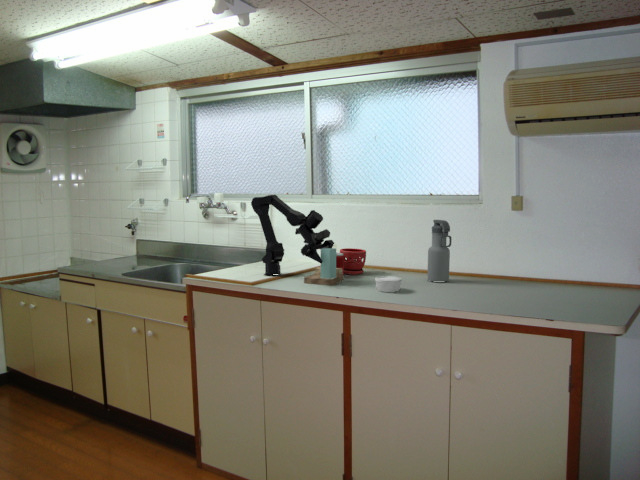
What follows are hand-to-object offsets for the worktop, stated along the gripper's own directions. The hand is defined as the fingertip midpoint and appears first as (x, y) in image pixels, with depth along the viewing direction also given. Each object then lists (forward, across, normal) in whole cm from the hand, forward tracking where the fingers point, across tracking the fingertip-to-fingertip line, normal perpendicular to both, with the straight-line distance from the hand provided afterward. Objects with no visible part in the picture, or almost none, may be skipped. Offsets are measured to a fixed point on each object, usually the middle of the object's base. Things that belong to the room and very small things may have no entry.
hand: (328, 261), depth 240 cm
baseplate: (+5, +2, +9) cm, 10 cm away
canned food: (+2, +16, +12) cm, 20 cm away
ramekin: (+28, +3, -14) cm, 31 cm away
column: (+5, 0, +5) cm, 7 cm away
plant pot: (+4, +28, +11) cm, 30 cm away
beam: (+2, +6, +8) cm, 11 cm away
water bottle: (+33, +35, -20) cm, 52 cm away
